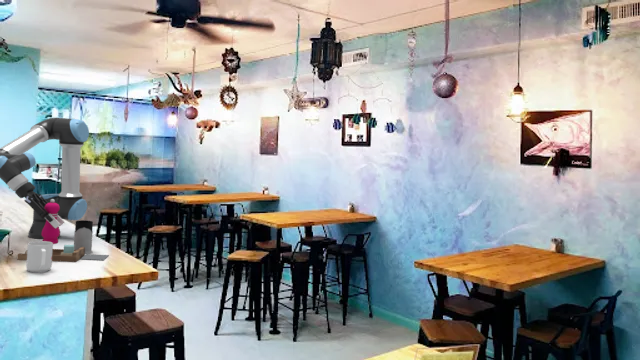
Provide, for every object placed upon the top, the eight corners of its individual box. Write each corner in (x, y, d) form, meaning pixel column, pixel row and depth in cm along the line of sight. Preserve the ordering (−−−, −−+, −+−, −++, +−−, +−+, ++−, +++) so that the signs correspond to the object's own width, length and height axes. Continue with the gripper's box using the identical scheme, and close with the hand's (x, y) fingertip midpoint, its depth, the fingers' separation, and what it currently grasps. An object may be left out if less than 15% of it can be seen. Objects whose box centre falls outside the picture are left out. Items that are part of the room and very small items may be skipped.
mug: (24, 268, 196) (25, 241, 195) (48, 266, 202) (50, 240, 201) (29, 275, 187) (31, 247, 186) (55, 273, 192) (56, 246, 192)
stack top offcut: (64, 251, 220) (64, 244, 219) (73, 251, 221) (74, 244, 221) (63, 253, 216) (63, 246, 216) (73, 253, 218) (73, 246, 217)
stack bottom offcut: (65, 257, 221) (65, 250, 221) (76, 257, 222) (76, 251, 221) (60, 259, 216) (60, 252, 216) (71, 260, 217) (72, 253, 216)
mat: (86, 254, 227) (86, 254, 227) (108, 255, 229) (108, 255, 229) (79, 259, 217) (80, 258, 217) (103, 260, 219) (103, 259, 219)
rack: (29, 253, 221) (30, 244, 221) (84, 255, 226) (84, 247, 226) (17, 259, 208) (17, 250, 208) (75, 262, 213) (76, 253, 212)
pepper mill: (51, 245, 212) (53, 200, 210) (37, 243, 213) (39, 198, 212) (63, 242, 219) (65, 199, 217) (49, 240, 220) (51, 197, 219)
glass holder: (72, 254, 226) (74, 222, 225) (72, 248, 239) (74, 218, 238) (92, 254, 230) (94, 223, 229) (91, 248, 243) (93, 218, 242)
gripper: (23, 190, 220) (60, 227, 225) (5, 194, 203) (46, 234, 207) (36, 179, 221) (73, 216, 225) (20, 182, 203) (60, 223, 208)
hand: (60, 225), depth 216 cm, fingers closed on pepper mill, 5 cm apart
